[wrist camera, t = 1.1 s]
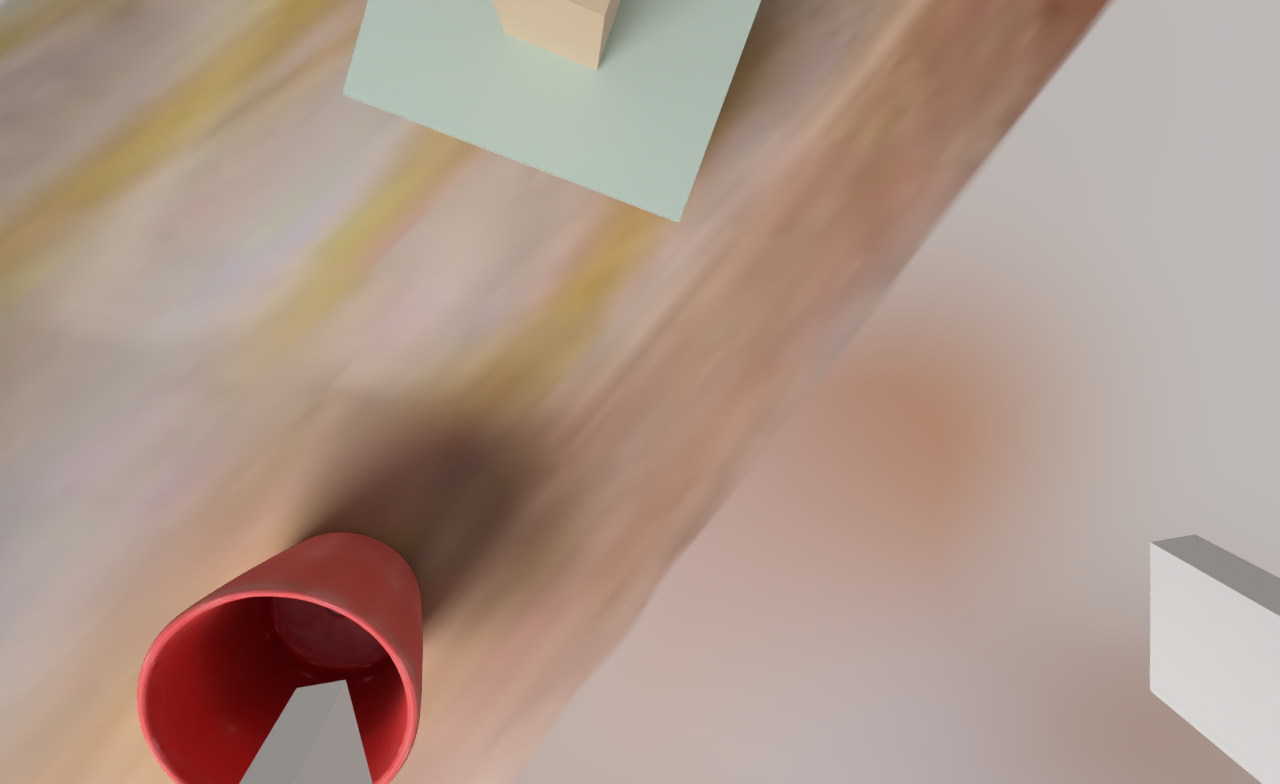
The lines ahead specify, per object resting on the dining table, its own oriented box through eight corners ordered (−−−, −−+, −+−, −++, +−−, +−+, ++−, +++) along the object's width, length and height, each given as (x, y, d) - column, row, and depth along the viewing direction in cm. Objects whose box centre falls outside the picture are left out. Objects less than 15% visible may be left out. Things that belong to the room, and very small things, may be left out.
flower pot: (311, 459, 39) (227, 536, 30) (493, 578, 41) (469, 685, 32) (196, 618, 40) (80, 741, 31) (378, 726, 43) (321, 871, 33)
